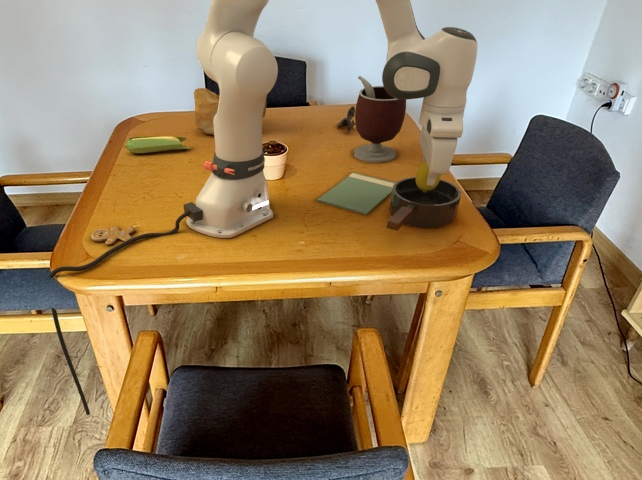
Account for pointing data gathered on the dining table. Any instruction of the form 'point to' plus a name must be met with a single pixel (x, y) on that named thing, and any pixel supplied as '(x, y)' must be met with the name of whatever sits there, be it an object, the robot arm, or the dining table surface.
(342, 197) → the tea towel
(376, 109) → the mate gourd
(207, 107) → the rough brown rock
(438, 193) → the pan
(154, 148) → the edible corn
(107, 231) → the cookie
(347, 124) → the eagle figurine
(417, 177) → the lemon
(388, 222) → the pan handle
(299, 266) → the dining table surface
